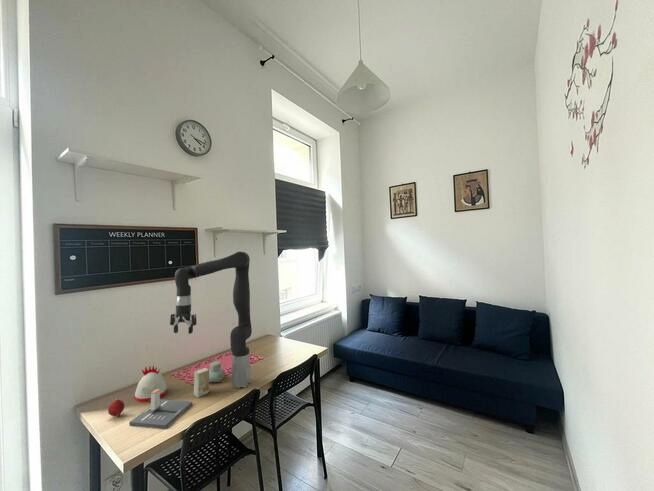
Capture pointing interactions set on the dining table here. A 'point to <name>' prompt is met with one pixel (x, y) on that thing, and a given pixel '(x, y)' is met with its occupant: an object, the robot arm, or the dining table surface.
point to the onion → (116, 408)
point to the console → (161, 414)
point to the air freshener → (216, 372)
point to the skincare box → (201, 382)
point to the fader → (155, 400)
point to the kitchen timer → (150, 385)
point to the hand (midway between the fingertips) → (183, 333)
